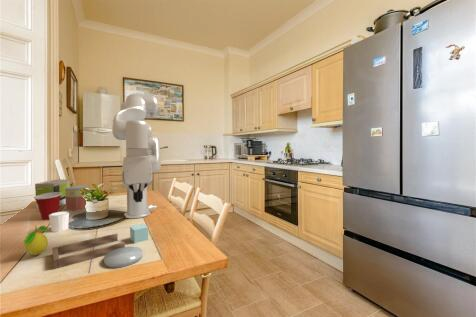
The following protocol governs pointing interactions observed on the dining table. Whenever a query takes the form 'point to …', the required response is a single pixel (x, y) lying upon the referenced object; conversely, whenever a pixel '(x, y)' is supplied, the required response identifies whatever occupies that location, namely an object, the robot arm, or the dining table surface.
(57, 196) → the plastic cup
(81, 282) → the dining table surface
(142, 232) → the teal cube
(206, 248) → the dining table surface
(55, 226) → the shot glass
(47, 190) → the tea box
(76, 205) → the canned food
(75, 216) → the dining table surface
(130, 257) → the grey round disc
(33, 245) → the lemon
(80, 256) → the frame
